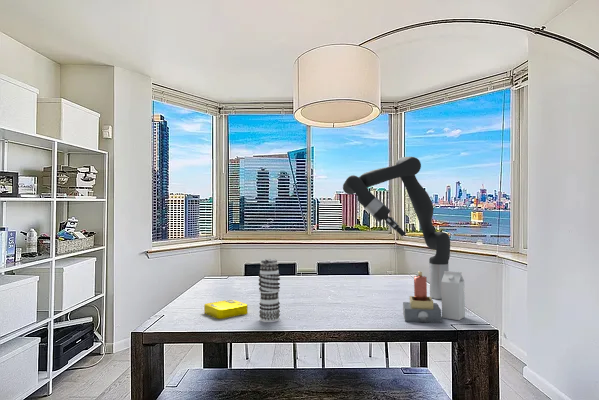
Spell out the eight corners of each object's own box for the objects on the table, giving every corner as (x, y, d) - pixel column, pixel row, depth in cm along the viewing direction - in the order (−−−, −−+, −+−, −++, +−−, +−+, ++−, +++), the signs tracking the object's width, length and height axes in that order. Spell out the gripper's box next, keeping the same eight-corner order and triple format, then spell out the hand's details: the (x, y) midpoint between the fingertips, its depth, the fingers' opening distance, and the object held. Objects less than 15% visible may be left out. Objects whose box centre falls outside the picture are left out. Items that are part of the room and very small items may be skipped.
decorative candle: (260, 323, 164) (260, 261, 165) (256, 317, 173) (256, 258, 174) (283, 321, 167) (282, 260, 167) (277, 315, 176) (277, 257, 176)
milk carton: (447, 314, 175) (447, 269, 175) (465, 317, 170) (464, 271, 171) (441, 317, 169) (441, 271, 170) (459, 320, 165) (458, 273, 165)
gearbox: (403, 313, 176) (402, 295, 177) (437, 315, 174) (436, 296, 174) (405, 322, 163) (404, 302, 164) (441, 323, 161) (441, 303, 161)
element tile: (202, 313, 182) (202, 302, 182) (232, 308, 192) (231, 297, 192) (219, 320, 171) (218, 309, 171) (249, 314, 180) (249, 303, 181)
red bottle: (414, 304, 172) (413, 271, 173) (426, 304, 171) (425, 271, 172) (415, 307, 167) (414, 272, 168) (427, 307, 166) (427, 273, 167)
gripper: (383, 203, 181) (410, 229, 178) (383, 203, 195) (408, 227, 192) (371, 215, 182) (398, 241, 179) (372, 215, 196) (397, 239, 193)
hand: (403, 234), depth 186 cm, fingers open, 8 cm apart
